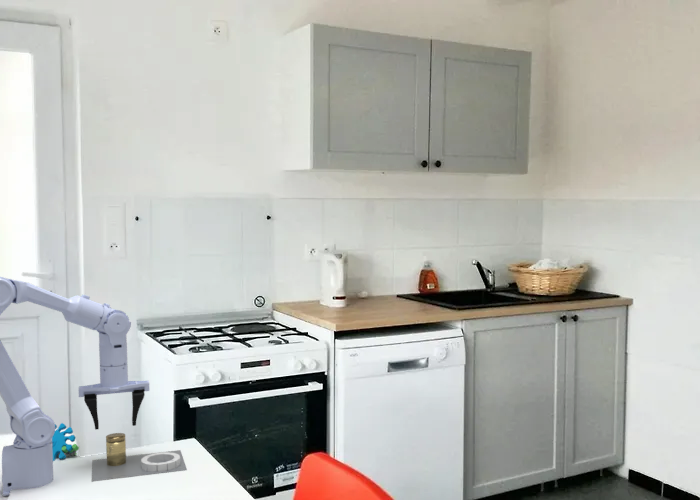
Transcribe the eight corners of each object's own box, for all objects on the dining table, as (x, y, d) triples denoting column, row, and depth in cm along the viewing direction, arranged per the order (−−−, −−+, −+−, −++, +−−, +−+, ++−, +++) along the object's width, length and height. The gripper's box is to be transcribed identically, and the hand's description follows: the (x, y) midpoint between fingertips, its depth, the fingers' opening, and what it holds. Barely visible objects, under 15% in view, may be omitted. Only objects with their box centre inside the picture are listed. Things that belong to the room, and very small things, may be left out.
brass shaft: (106, 467, 158) (106, 439, 158) (106, 461, 162) (105, 434, 161) (126, 464, 159) (125, 437, 159) (125, 459, 163) (125, 432, 163)
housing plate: (91, 486, 149) (91, 474, 149) (92, 464, 163) (92, 453, 163) (187, 474, 156) (186, 462, 155) (180, 454, 169) (180, 443, 169)
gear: (19, 457, 163) (43, 417, 170) (31, 469, 168) (54, 430, 174) (62, 467, 160) (85, 427, 167) (72, 479, 165) (94, 439, 171)
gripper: (77, 370, 153) (79, 435, 154) (149, 365, 158) (151, 427, 159) (78, 364, 160) (80, 426, 161) (147, 359, 165) (149, 419, 165)
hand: (115, 426), depth 160 cm, fingers open, 7 cm apart
